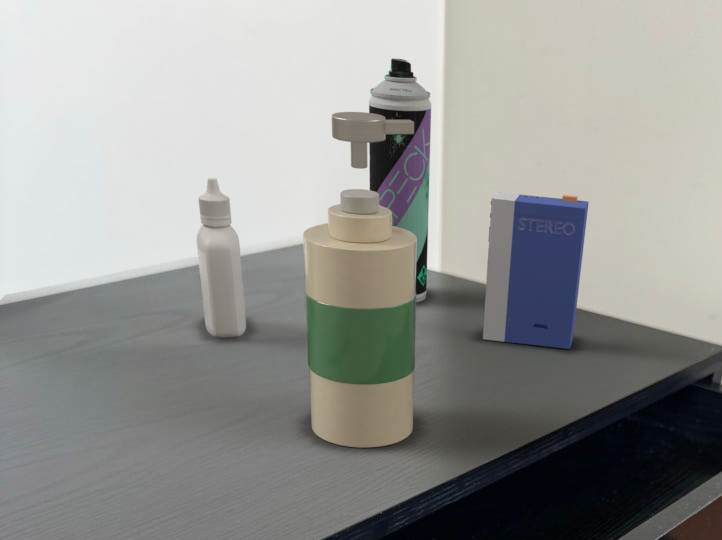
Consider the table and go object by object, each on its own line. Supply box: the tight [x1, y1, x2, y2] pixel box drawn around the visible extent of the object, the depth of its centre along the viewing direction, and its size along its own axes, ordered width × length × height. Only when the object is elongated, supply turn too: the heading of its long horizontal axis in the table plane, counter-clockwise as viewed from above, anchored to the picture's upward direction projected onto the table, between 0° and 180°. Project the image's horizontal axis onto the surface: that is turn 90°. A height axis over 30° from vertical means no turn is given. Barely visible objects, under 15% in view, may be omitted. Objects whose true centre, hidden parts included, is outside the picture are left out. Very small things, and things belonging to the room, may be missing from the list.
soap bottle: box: [302, 188, 417, 449], centre depth 65 cm, size 7×7×16 cm
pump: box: [331, 111, 414, 170], centre depth 59 cm, size 5×3×3 cm, turn 113°
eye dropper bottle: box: [196, 177, 247, 338], centre depth 81 cm, size 4×6×12 cm
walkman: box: [482, 192, 590, 350], centre depth 83 cm, size 8×3×12 cm, turn 79°
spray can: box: [368, 58, 432, 303], centre depth 89 cm, size 6×6×20 cm
